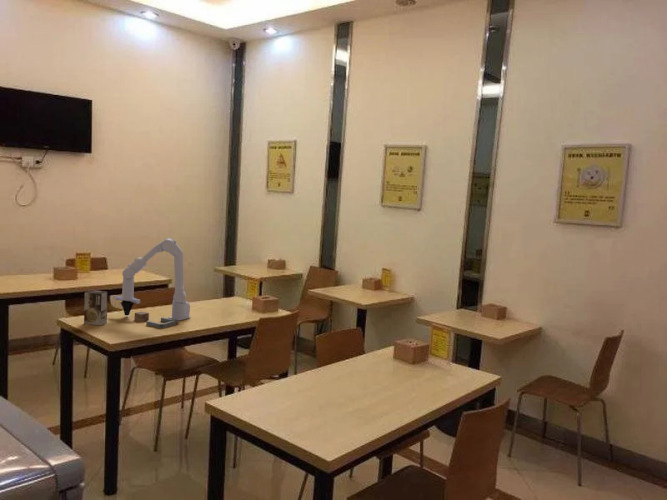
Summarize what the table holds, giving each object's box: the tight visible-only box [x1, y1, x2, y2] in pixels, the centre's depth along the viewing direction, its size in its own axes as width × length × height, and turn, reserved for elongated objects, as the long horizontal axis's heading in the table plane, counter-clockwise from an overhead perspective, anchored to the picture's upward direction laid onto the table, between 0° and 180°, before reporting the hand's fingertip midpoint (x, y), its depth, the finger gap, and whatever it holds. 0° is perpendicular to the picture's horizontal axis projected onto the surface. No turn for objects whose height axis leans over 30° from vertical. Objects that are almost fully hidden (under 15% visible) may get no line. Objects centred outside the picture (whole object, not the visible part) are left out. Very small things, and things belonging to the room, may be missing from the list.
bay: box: [145, 316, 179, 329], centre depth 280 cm, size 12×10×2 cm
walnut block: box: [134, 311, 150, 323], centre depth 286 cm, size 5×5×4 cm
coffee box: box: [83, 289, 109, 326], centre depth 272 cm, size 9×6×16 cm
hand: (126, 314), depth 290 cm, fingers closed
